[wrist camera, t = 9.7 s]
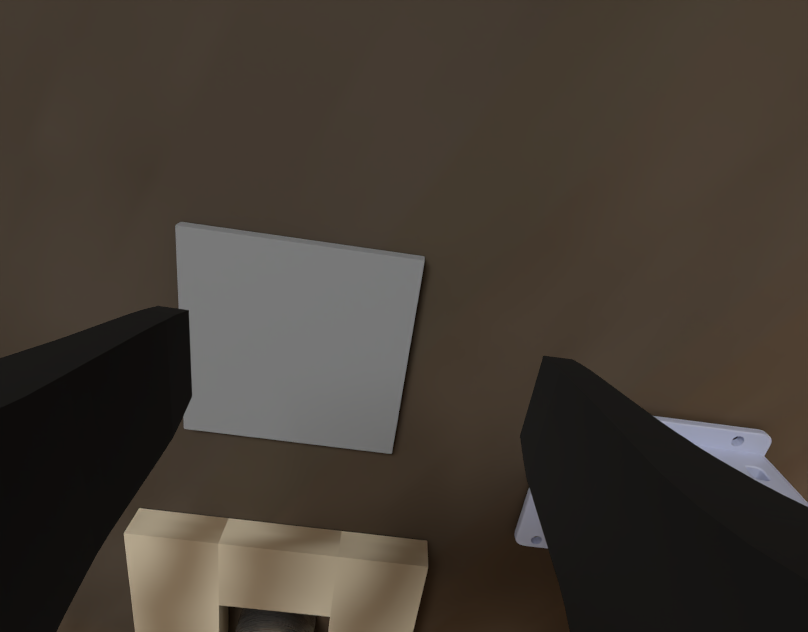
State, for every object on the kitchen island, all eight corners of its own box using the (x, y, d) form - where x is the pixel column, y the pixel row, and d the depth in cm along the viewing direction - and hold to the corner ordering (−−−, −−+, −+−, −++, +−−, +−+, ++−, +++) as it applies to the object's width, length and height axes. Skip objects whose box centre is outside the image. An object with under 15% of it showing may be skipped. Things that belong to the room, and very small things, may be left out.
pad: (424, 256, 19) (424, 260, 19) (392, 446, 23) (391, 454, 23) (180, 221, 19) (175, 225, 18) (188, 421, 23) (183, 428, 22)
